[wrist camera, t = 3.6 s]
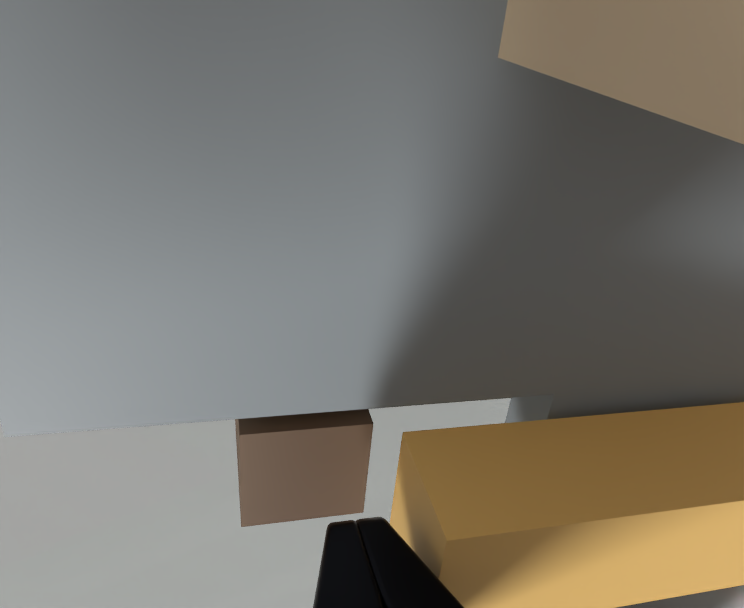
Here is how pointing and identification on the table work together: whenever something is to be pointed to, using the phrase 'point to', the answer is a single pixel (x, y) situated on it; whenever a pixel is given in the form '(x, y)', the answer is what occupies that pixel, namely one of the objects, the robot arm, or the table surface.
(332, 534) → the robot arm
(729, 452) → the yellow wooden bar
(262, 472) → the brown wooden box
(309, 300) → the lid
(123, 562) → the table surface
